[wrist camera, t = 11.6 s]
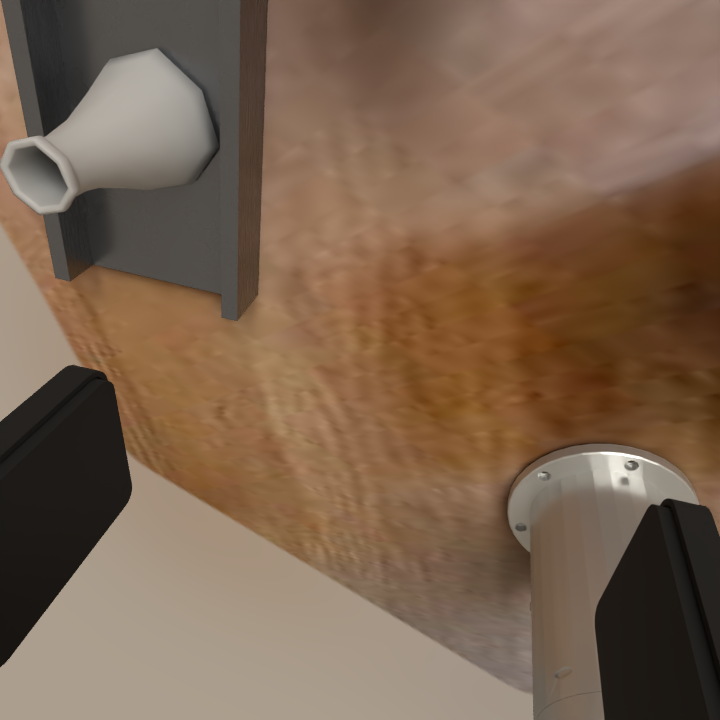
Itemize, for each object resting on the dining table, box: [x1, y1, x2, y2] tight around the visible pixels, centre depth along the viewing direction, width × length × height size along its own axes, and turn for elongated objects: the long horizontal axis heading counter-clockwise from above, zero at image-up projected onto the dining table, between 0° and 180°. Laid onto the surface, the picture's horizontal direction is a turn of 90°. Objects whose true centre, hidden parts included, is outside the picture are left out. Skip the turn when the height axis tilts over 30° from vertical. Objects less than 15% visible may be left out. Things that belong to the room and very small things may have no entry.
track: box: [1, 0, 268, 321], centre depth 32 cm, size 20×12×4 cm, turn 172°
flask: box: [0, 48, 219, 215], centre depth 28 cm, size 7×7×10 cm
